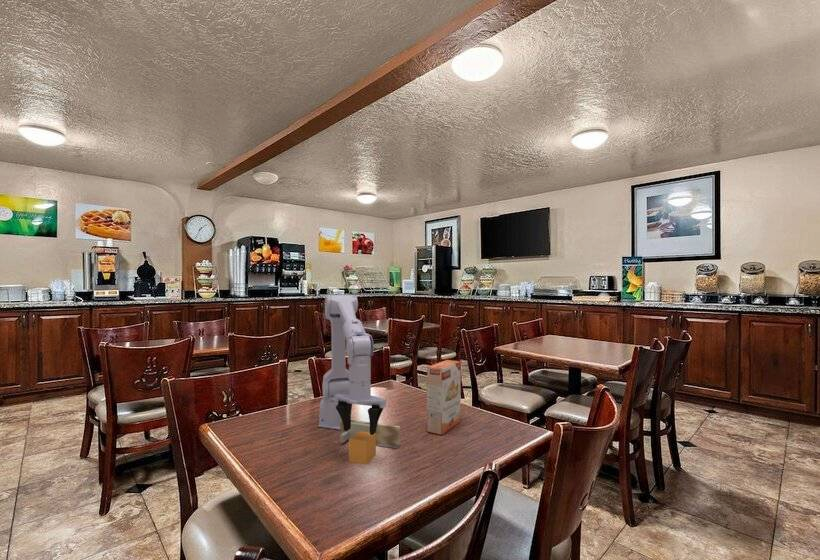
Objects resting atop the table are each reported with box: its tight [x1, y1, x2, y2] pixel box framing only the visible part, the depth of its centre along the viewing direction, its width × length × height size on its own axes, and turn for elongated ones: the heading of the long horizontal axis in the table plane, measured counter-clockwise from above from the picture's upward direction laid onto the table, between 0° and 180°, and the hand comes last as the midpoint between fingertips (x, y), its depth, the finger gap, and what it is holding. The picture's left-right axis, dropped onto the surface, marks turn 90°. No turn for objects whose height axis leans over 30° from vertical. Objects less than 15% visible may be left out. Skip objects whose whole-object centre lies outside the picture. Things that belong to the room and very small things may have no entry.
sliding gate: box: [339, 422, 370, 443], centre depth 113 cm, size 8×4×5 cm, turn 70°
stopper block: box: [348, 431, 377, 465], centre depth 103 cm, size 5×6×6 cm
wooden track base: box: [339, 419, 401, 450], centre depth 113 cm, size 18×3×6 cm, turn 70°
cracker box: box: [426, 359, 462, 436], centre depth 125 cm, size 14×6×21 cm, turn 148°
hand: (360, 431), depth 102 cm, fingers open, 7 cm apart
